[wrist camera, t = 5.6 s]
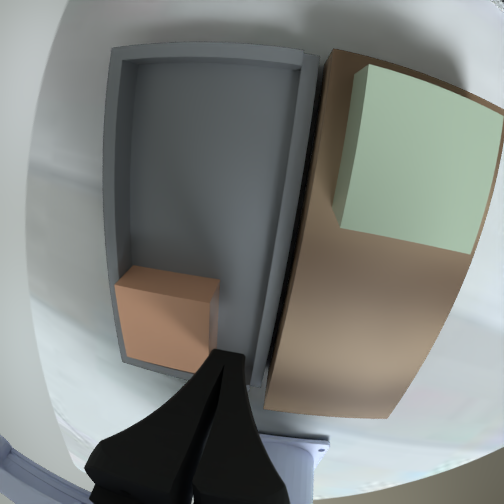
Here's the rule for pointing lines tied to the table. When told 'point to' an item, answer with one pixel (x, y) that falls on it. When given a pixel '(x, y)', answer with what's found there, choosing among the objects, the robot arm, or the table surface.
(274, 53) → the charcoal tray
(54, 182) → the table surface
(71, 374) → the table surface
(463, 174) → the sage tile
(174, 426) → the robot arm
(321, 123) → the walnut ledge
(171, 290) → the terracotta block
